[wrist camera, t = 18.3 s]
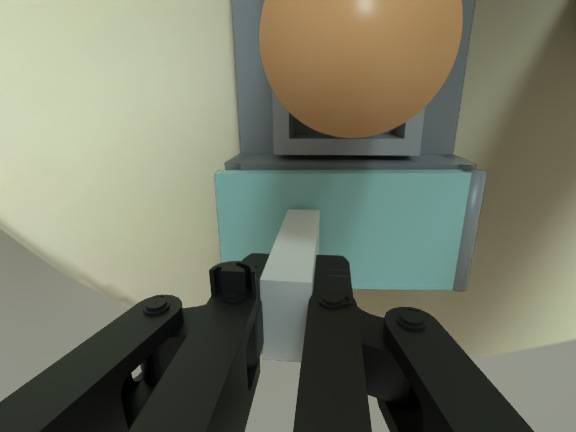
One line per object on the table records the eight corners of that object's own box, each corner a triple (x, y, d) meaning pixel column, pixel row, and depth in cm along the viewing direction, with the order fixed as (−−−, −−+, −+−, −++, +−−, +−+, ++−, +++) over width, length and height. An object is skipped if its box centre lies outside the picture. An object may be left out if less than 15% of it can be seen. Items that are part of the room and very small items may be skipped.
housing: (229, -140, 17) (197, -214, 13) (490, -165, 15) (546, -257, 11) (249, 241, 23) (232, 270, 19) (434, 248, 22) (457, 281, 18)
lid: (218, 170, 16) (213, 174, 15) (480, 168, 16) (491, 173, 15) (227, 278, 18) (223, 288, 17) (461, 281, 17) (470, 291, 17)
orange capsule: (304, 48, 18) (247, -63, 7) (382, 37, 17) (467, -106, 6) (310, 126, 19) (270, 146, 8) (383, 118, 18) (458, 128, 7)
